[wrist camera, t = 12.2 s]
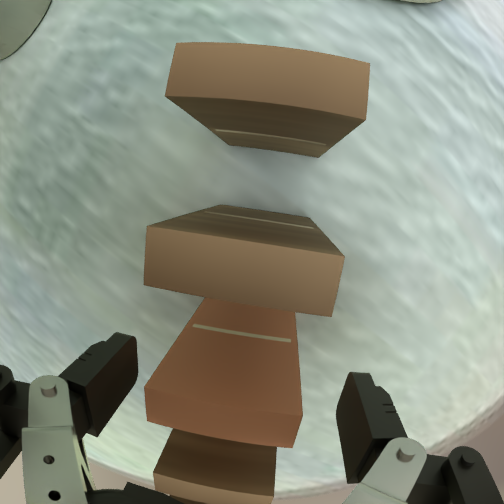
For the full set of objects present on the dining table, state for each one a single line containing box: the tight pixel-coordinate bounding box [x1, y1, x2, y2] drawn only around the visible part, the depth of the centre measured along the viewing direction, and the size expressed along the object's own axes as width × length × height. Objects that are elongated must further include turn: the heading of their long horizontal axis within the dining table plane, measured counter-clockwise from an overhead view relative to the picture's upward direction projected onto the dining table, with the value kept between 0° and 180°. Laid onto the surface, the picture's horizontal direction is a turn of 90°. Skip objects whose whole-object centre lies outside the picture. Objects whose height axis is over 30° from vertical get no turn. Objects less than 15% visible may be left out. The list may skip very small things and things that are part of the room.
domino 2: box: [144, 205, 345, 317], centre depth 13 cm, size 2×5×10 cm, turn 82°
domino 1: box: [165, 42, 370, 158], centre depth 11 cm, size 2×5×10 cm, turn 82°
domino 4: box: [153, 428, 277, 504], centre depth 15 cm, size 2×5×10 cm, turn 82°
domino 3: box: [144, 297, 303, 448], centre depth 14 cm, size 2×5×10 cm, turn 83°
